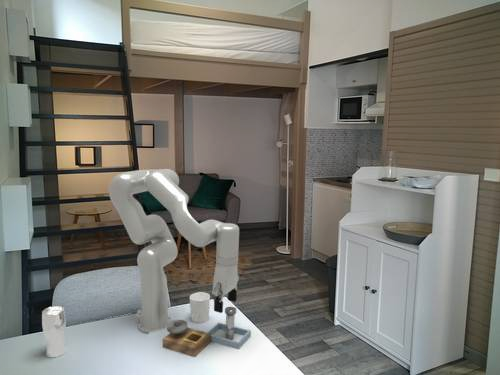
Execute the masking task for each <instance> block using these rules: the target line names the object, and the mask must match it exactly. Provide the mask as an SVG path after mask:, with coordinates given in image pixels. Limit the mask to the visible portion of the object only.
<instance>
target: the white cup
mask: <svg viewBox="0 0 500 375" xmlns="http://www.w3.org/2000/svg"><path fill="white" fill-rule="evenodd" d="M210 300H211V295H210V293H207V292H202V291H201V292H199V291H198V292H195V293H192V294H189V309H190V316H191V318H190V319H191V321H192V322H194V323H204V322H207V321H208V320H209V318H210V317H209V316H210V306H211V301H210Z"/></svg>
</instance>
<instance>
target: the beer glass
mask: <svg viewBox="0 0 500 375" xmlns="http://www.w3.org/2000/svg"><path fill="white" fill-rule="evenodd" d="M41 313H42V314H41V326H42V331H43V334H44V338H45V342H46V352H45V356H46V357H47V358H52V359H53V358H57V357H61V356H63V355H64V354H66V352H67V347H66V342H65V336H66V334H65V333H66V327H67V326H66V325H67V320H66V319H67V318H66V313H65V307H64V306H62V305H54V306H49V307H46V308H44V310H42V312H41Z"/></svg>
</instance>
